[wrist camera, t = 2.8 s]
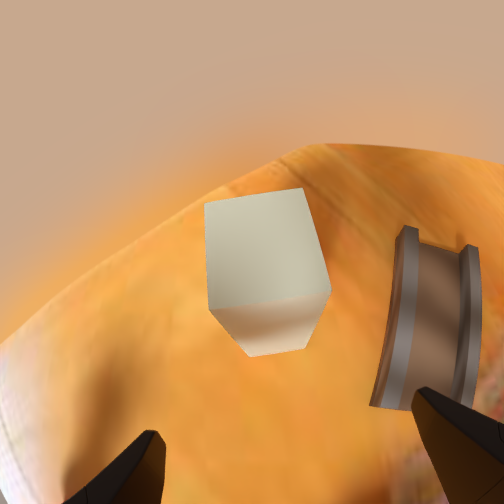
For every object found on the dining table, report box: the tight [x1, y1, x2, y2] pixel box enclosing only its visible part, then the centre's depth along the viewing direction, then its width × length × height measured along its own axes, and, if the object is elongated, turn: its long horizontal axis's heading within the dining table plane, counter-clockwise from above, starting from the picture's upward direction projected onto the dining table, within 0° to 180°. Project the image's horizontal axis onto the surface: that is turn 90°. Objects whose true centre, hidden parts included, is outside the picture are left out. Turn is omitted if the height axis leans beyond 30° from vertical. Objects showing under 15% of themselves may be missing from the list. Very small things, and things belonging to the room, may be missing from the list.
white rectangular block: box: [204, 188, 332, 357], centre depth 16 cm, size 5×4×13 cm
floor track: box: [369, 225, 482, 411], centre depth 19 cm, size 16×9×3 cm, turn 162°
